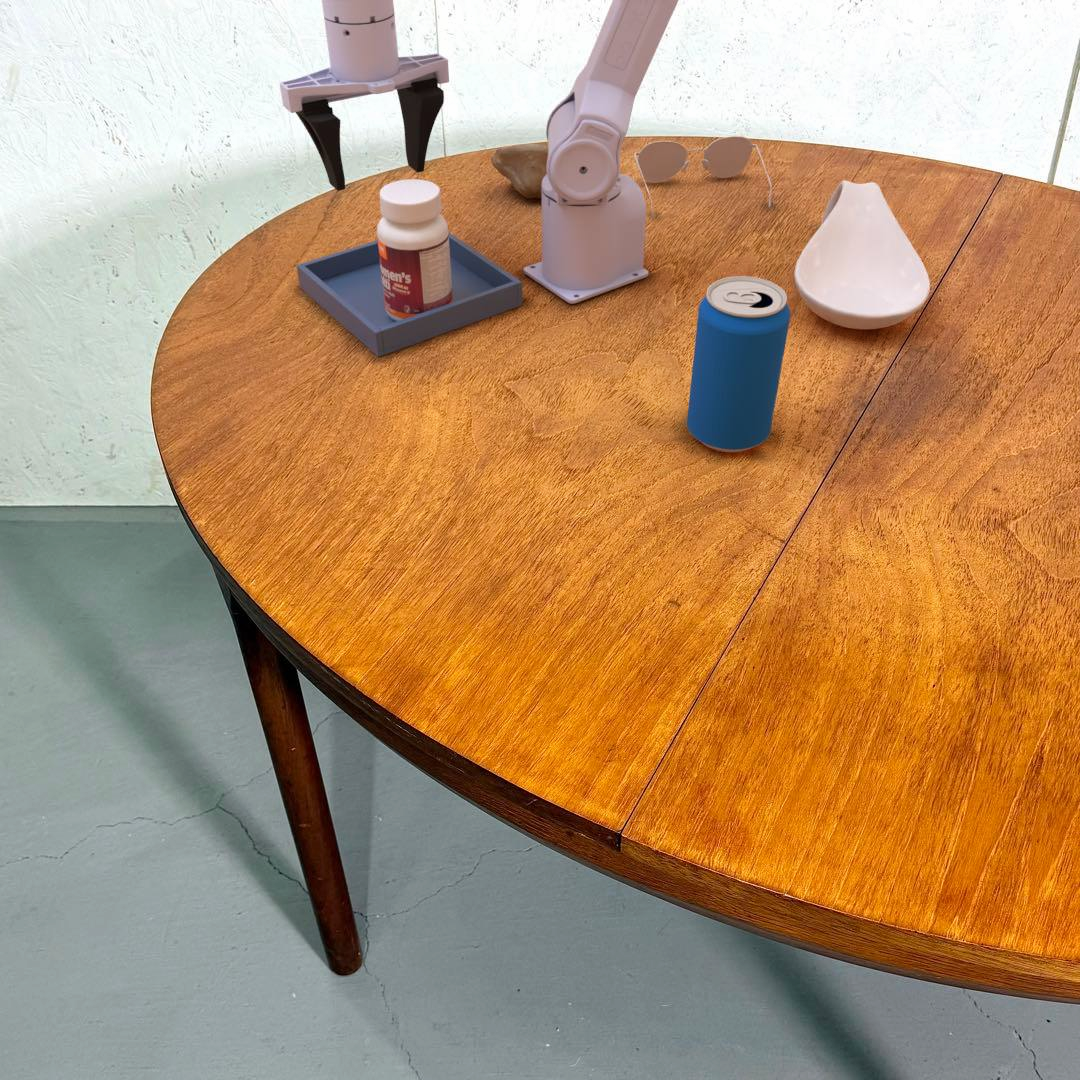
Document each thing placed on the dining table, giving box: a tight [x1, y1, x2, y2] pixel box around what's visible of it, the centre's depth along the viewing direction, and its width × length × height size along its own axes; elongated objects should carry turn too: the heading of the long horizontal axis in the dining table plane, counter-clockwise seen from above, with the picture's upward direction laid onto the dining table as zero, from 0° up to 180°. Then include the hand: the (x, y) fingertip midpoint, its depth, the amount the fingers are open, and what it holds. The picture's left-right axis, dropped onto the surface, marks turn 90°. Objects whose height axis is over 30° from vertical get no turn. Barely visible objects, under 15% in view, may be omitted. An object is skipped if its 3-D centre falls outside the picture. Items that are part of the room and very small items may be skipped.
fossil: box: [490, 143, 548, 200], centre depth 114 cm, size 9×4×10 cm
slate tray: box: [295, 232, 524, 358], centre depth 99 cm, size 15×15×2 cm
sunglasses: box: [633, 135, 773, 217], centre depth 114 cm, size 14×8×5 cm, turn 99°
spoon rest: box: [793, 179, 931, 330], centre depth 98 cm, size 24×12×7 cm, turn 172°
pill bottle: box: [376, 178, 453, 322], centre depth 93 cm, size 6×6×11 cm
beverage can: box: [686, 275, 791, 453], centre depth 79 cm, size 6×6×12 cm
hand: (377, 177), depth 95 cm, fingers open, 7 cm apart
